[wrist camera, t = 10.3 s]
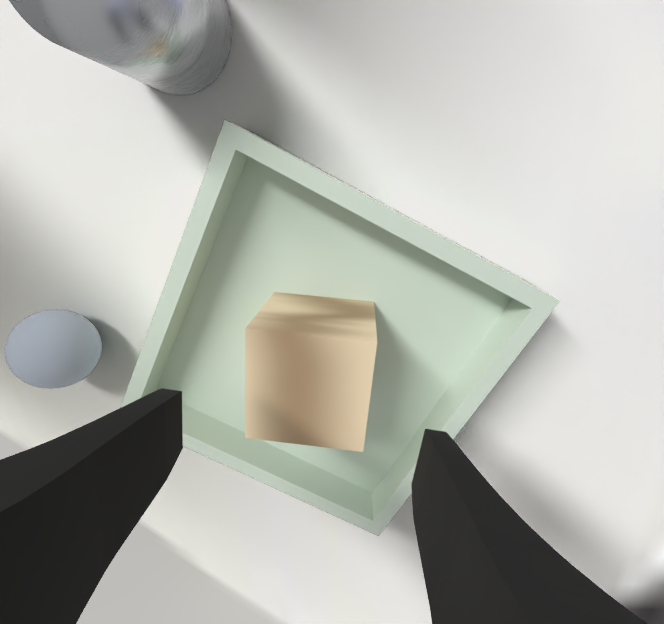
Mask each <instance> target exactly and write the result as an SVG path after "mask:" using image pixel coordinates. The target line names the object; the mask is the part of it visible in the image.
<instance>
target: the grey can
mask: <svg viewBox="0 0 664 624" xmlns="http://www.w3.org/2000/svg"><path fill="white" fill-rule="evenodd" d="M9 1H10V2H11V4H12V5H13V7H14V8H15V9H16V11H17V12H18V13H19V14H20V15H21V17H22V18H23V19H24V20H25V21H26V22H27V23H28V24H29V25H30V26H31V27H32V28H33V29H34V30H36V31H37V32H38V33H39V34H41V35H42V36H44V37H45V38H47V39H48V40H50V41H52V42H53V43H56V44H58V45H60V46H62V47H64V48H67V49H69V50H71V51H73V52H75V53H78V54H80V55H82V56H84V57H87V58H89V59H91V60H93V61H96V62H98V63H100V64H102V65H105V66H107V67H109V68H111V69H113V70H116V71H118V72H120V73H122V74H125V75H127V76H129V77H131V78H134V79H136V80H138V81H140V82H143V83H145V84H147V85H149V86H151V87H154V88H156V89H158V90H160V91H163V92H166V93H169V94H174V95H188V94H193V93H196V92H199V91H201V90H203V89H205V88H206V87H207V86H209V85H210V84H211V83H212V82H213V81H214V80H215V79H216V78H217V77H218V76H219V74H220V73H221V71H222V70H223V68H224V66H225V64H226V61H227V59H228V55H229V52H230V47H231V39H232V28H231V19H230V13H229V10H228V6H227V3H226V1H225V0H9Z"/></svg>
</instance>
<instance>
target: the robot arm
mask: <svg viewBox="0 0 664 624" xmlns="http://www.w3.org/2000/svg"><path fill="white" fill-rule="evenodd" d="M182 448H183V433H182V391H177V390H171V389H164V388H161V389H159V390H157V391H154V392H152V393H150V394H148V395H146V396H144V397H142V398H140V399H138V400H136V401H134V402H132V403H130V404H128V405H126V406H124V407H122V408H120V409H118V410H116V411H114V412H111V413H109V414H107V415H105V416H103V417H101V418H99V419H97V420H95V421H93V422H91V423H89V424H87V425H84V426H82V427H80V428H78V429H75V430H73V431H71V432H69V433H67V434H64V435H62V436H60V437H58V438H56V439H53V440H51V441H48V442H46V443H44V444H41V445H39V446H36V447H34V448H31V449H29V450H26V451H23V452H20V453H18V454H15V455H13V456H10V457H7V458H5V459H2V460H0V624H76V622H77V621H78V619H79V617H80V615H81V613H82V612H83V609H84V608H85V606H86V604H87V602H88V601H89V599H90V597H91V596H92V594H93V592H94V590H95V588H96V586H97V585H98V583H99V581H100V579H101V578H102V576H103V574H104V572H105V571H106V569H107V568H108V566H109V564H110V563H111V561H112V559H113V558H114V556H115V555H116V553H117V552H118V550H119V549H120V547H121V546H122V544H123V543H124V541H125V540H126V539H127V537H128V536H129V534H130V533H131V531H132V530H133V528H134V527H135V525H136V524H137V523H138V521H139V520H140V518H141V517H142V515H143V514H144V512H145V511H146V509H147V508H148V507H149V505H150V504H151V502H152V501H153V499H154V498H155V496H156V495H157V493H158V492H159V490H160V489H161V487H162V486H163V484H164V483H165V481H166V480H167V478H168V476H169V474H170V472H171V470H172V468H173V466H174V465H175V463H176V460H177V458H178V456H179V454H180V452H181V450H182ZM411 486H412V503H413V516H414V524H415V530H416V535H417V541H418V546H419V551H420V557H421V562H422V567H423V573H424V578H425V583H426V588H427V594H428V599H429V604H430V610H431V617H432V624H647V623H646V622H644V621H643V620H641V619H640V618H639V617H637V616H636V615H635V614H633V613H632V612H630V611H629V610H628V609H626V608H625V607H624V606H622V605H621V604H620V603H619V602H617V601H616V600H615V599H613V598H612V597H611V596H609V595H608V594H607V593H606V592H604V591H603V590H602V589H601V588H599V587H598V586H597V585H596V584H594V583H593V582H592V581H591V580H590V579H588V578H587V577H586V576H585V575H583V574H582V573H581V572H580V571H578V570H577V569H576V568H575V567H574V566H572V565H571V564H570V563H569V562H568V561H567V560H566V559H564V558H563V557H562V556H561V555H560V554H559V553H557V552H556V551H555V550H554V549H553V548H552V547H551V546H550V545H549V544H548V543H547V542H546V541H544V540H543V539H542V538H541V537H540V536H539V535H538V534H537V533H536V532H535V531H534V530H533V529H532V528H531V527H530V526H529V525H528V524H527V523H525V522H524V521H523V520H522V519H521V517H520V516H519V515H518V514H517V513H516V512H515V511H514V510H513V509H512V508H511V507H510V506H509V505H508V504H507V503H506V502H505V501H504V500H503V499H502V497H501V496H500V495H499V494H498V493H497V492H496V491H495V490H494V489H493V487H492V486H491V485H490V484H489V483H488V482H487V481H486V479H485V478H484V477H483V476H482V475H481V474H480V472H479V471H478V470H477V469H476V468H475V466H474V465H473V464H472V463H471V461H470V460H469V459H468V458H467V457H466V455H465V454H464V453H463V452H462V450H461V449H460V448H459V447H458V445H457V444H456V443H455V442H454V440H453V439H452V438H451V437H450V436H449V434H448V433H447V432H444V431H437V430H431V429H425V431H424V435H423V439H422V443H421V447H420V451H419V455H418V460H417V464H416V468H415V472H414V476H413V480H412V484H411Z"/></svg>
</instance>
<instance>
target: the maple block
mask: <svg viewBox="0 0 664 624" xmlns="http://www.w3.org/2000/svg"><path fill="white" fill-rule="evenodd" d="M376 349H377V331H376V320H375V308H374V302H371V301H361V300H351V299H341V298H331V297H321V296H311V295H301V294H291V293H281V292H274V293H273V295H272V296H271V297H270V298H269V300H268V301H267V302H266V303H265V304H264V306H263V307H262V308H261V309H260V311H259V312H258V313H257V314H256V316H255V317H254V318H253V319H252V321H251V322H250V323H249V324H248V325H247V327H246V328H245V438H250V439H258V440H267V441H275V442H283V443H292V444H300V445H309V446H317V447H325V448H334V449H342V450H351V451H359V452H363V449H364V442H365V434H366V426H367V418H368V411H369V403H370V395H371V387H372V380H373V372H374V364H375V357H376Z"/></svg>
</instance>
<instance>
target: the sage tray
mask: <svg viewBox="0 0 664 624" xmlns="http://www.w3.org/2000/svg"><path fill="white" fill-rule="evenodd" d="M274 292H281V293H291V294H301V295H311V296H321V297H331V298H341V299H351V300H361V301H371V302H374V308H375V320H376V331H377V349H376V357H375V364H374V372H373V380H372V387H371V395H370V403H369V411H368V418H367V426H366V434H365V442H364V449H363V452H359V451H351V450H342V449H334V448H325V447H317V446H309V445H300V444H292V443H283V442H275V441H267V440H258V439H250V438H245V328H246V327H247V325H248V324H249V323H250V322H251V321H252V319H253V318H254V317H255V316H256V314H257V313H258V312H259V311H260V309H261V308H262V307H263V306H264V304H265V303H266V302H267V301H268V300H269V298H270V297H271V296H272V295H273V293H274ZM559 302H560V301H559V300H557V299H555V298H554V297H552V296H550V295H549V294H547V293H546V292H544V291H542V290H541V289H539V288H537V287H536V286H534V285H532V284H530V283H528V282H527V281H525V280H523V279H521V278H519V277H517V276H516V275H514V274H512V273H510V272H508V271H506V270H504V269H503V268H501V267H499V266H497V265H495V264H493V263H492V262H490V261H488V260H486V259H484V258H482V257H481V256H479V255H477V254H475V253H473V252H471V251H469V250H468V249H466V248H464V247H462V246H460V245H458V244H457V243H455V242H453V241H451V240H449V239H447V238H445V237H444V236H442V235H440V234H438V233H436V232H434V231H433V230H431V229H429V228H427V227H425V226H423V225H422V224H420V223H418V222H416V221H414V220H412V219H410V218H409V217H407V216H405V215H403V214H401V213H399V212H398V211H396V210H394V209H392V208H390V207H388V206H387V205H385V204H383V203H381V202H379V201H377V200H375V199H374V198H372V197H370V196H368V195H366V194H364V193H363V192H361V191H359V190H357V189H355V188H353V187H351V186H350V185H348V184H346V183H344V182H342V181H340V180H339V179H337V178H335V177H333V176H331V175H329V174H328V173H326V172H324V171H322V170H320V169H318V168H316V167H315V166H313V165H311V164H309V163H307V162H305V161H304V160H302V159H300V158H298V157H296V156H294V155H293V154H291V153H289V152H287V151H285V150H283V149H281V148H280V147H278V146H276V145H274V144H272V143H270V142H269V141H267V140H265V139H263V138H261V137H259V136H257V135H256V134H254V133H252V132H250V131H248V130H246V129H245V128H243V127H240V126H238V125H236V124H234V123H231V122H229V121H227V120H224V123H223V125H222V128H221V131H220V134H219V137H218V139H217V142H216V145H215V148H214V150H213V153H212V156H211V159H210V161H209V164H208V167H207V170H206V172H205V175H204V178H203V181H202V183H201V186H200V189H199V192H198V194H197V197H196V200H195V203H194V205H193V208H192V211H191V214H190V217H189V219H188V222H187V225H186V228H185V230H184V233H183V236H182V239H181V241H180V244H179V247H178V250H177V252H176V255H175V258H174V261H173V263H172V266H171V269H170V272H169V274H168V277H167V280H166V283H165V286H164V288H163V291H162V294H161V297H160V299H159V302H158V305H157V308H156V310H155V313H154V316H153V319H152V321H151V324H150V327H149V330H148V332H147V335H146V338H145V341H144V343H143V346H142V349H141V352H140V354H139V357H138V360H137V363H136V366H135V368H134V371H133V374H132V377H131V379H130V382H129V385H128V388H127V390H126V393H125V396H124V399H123V401H122V404H121V407H120V408H122V407H124V406H126V405H128V404H130V403H132V402H134V401H136V400H138V399H140V398H142V397H144V396H146V395H148V394H150V393H152V392H154V391H157V390H159V389H161V388H164V389H171V390H177V391H182V433H183V446H184V447H186V448H188V449H191V450H193V451H195V452H197V453H199V454H201V455H204V456H206V457H208V458H210V459H212V460H214V461H217V462H219V463H221V464H223V465H225V466H227V467H230V468H232V469H234V470H236V471H238V472H240V473H243V474H245V475H247V476H249V477H251V478H253V479H256V480H258V481H260V482H262V483H264V484H267V485H269V486H271V487H273V488H275V489H277V490H280V491H282V492H284V493H286V494H288V495H290V496H293V497H295V498H297V499H299V500H301V501H303V502H306V503H308V504H310V505H312V506H314V507H316V508H319V509H321V510H323V511H325V512H327V513H329V514H332V515H334V516H336V517H338V518H340V519H342V520H345V521H347V522H349V523H351V524H353V525H356V526H358V527H360V528H362V529H364V530H366V531H369V532H371V533H373V534H375V535H377V536H379V535H380V534H381V532H382V531H383V530H384V528H385V527H386V526H387V525H388V523H389V522H390V521H391V519H392V518H393V517H394V515H395V514H396V513H397V512H398V510H399V509H400V508H401V506H402V505H403V504H404V503H405V501H406V500H407V499H408V497H409V496H410V495H411V493H412V486H411V484H412V480H413V476H414V472H415V468H416V464H417V460H418V455H419V451H420V447H421V443H422V439H423V435H424V431H425V429H431V430H437V431H444V432H447V433H448V434H449V436H450V437H451V438H452V439H454V438H455V436H456V435H457V434H458V433H459V431H460V430H461V429H462V427H463V426H464V425H465V424H466V422H467V421H468V420H469V418H470V417H471V416H472V414H473V413H474V412H475V411H476V409H477V408H478V407H479V405H480V404H481V403H482V401H483V400H484V399H485V398H486V396H487V395H488V394H489V392H490V391H491V390H492V389H493V387H494V386H495V385H496V383H497V382H498V381H499V379H500V378H501V377H502V376H503V374H504V373H505V372H506V370H507V369H508V368H509V367H510V365H511V364H512V363H513V361H514V360H515V359H516V357H517V356H518V355H519V354H520V352H521V351H522V350H523V348H524V347H525V346H526V345H527V343H528V342H529V341H530V339H531V338H532V337H533V335H534V334H535V333H536V332H537V330H538V329H539V328H540V326H541V325H542V324H543V323H544V321H545V320H546V319H547V317H548V316H549V315H550V313H551V312H552V311H553V310H554V308H555V307H556V306H557V304H558V303H559Z"/></svg>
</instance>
